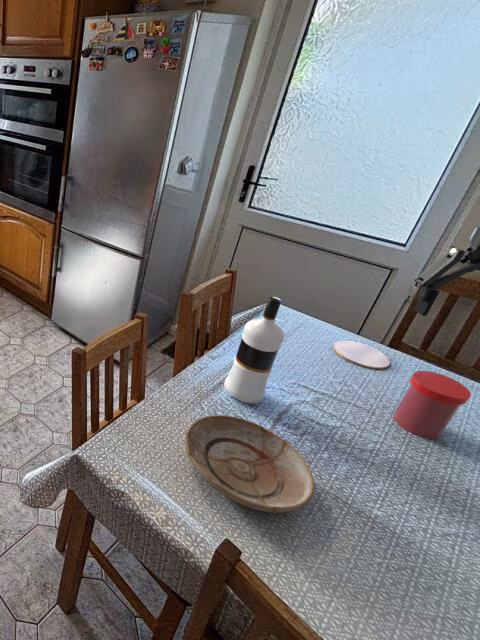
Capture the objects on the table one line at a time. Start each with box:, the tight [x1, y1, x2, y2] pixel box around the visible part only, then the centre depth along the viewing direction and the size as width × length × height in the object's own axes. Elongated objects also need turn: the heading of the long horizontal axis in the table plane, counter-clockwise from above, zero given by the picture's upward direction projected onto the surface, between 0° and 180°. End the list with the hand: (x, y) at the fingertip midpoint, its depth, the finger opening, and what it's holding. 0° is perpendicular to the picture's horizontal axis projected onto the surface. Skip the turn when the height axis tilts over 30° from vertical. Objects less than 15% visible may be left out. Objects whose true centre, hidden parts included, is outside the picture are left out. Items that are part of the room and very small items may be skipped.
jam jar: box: [392, 383, 461, 440], centre depth 99 cm, size 8×8×12 cm
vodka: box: [223, 296, 285, 405], centre depth 106 cm, size 9×9×30 cm
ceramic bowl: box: [184, 414, 315, 514], centre depth 90 cm, size 23×24×5 cm
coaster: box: [332, 339, 391, 370], centre depth 125 cm, size 13×13×1 cm
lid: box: [409, 370, 472, 406], centre depth 96 cm, size 9×9×2 cm
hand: (454, 315), depth 94 cm, fingers open, 13 cm apart
